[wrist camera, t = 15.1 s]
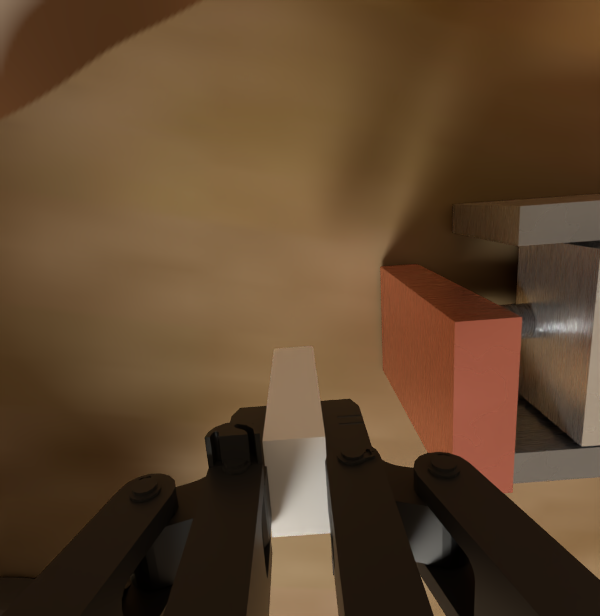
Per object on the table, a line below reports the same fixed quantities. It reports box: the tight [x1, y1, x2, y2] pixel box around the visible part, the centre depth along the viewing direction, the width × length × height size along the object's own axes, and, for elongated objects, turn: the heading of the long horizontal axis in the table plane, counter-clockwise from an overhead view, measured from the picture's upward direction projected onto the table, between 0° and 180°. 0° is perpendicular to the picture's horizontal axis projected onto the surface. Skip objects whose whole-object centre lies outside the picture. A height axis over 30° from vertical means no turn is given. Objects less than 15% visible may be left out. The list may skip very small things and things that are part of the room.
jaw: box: [380, 240, 600, 493], centre depth 19 cm, size 10×8×11 cm
